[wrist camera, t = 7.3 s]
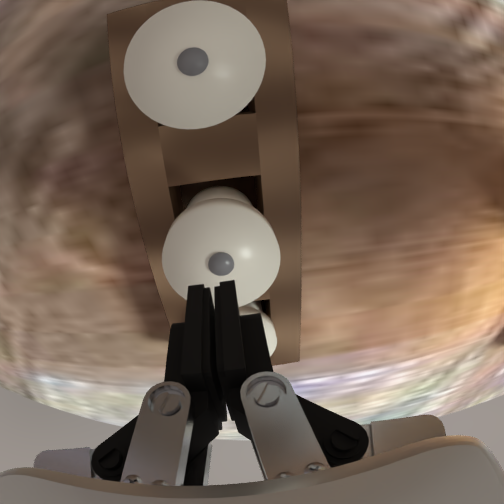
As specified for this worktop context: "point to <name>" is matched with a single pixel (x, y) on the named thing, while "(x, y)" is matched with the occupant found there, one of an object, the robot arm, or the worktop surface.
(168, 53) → the knob
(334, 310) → the worktop surface
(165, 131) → the mount
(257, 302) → the knob
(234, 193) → the knob
